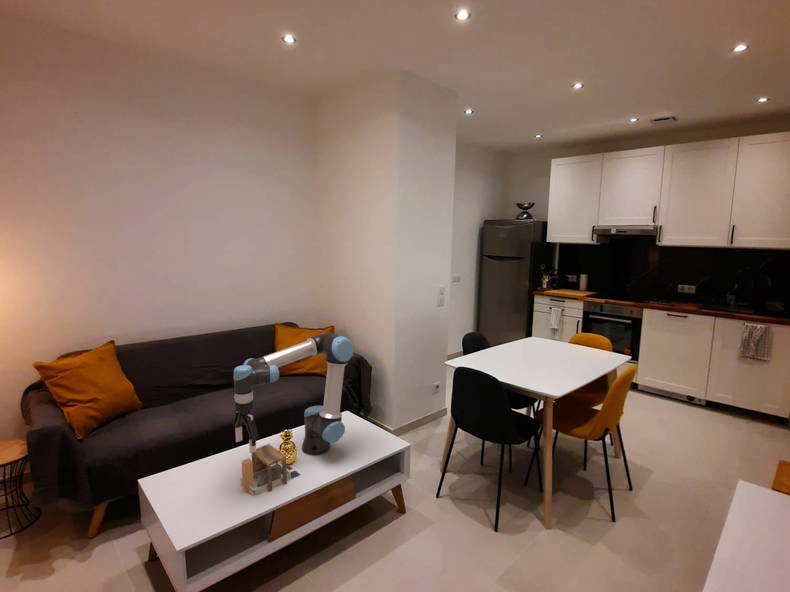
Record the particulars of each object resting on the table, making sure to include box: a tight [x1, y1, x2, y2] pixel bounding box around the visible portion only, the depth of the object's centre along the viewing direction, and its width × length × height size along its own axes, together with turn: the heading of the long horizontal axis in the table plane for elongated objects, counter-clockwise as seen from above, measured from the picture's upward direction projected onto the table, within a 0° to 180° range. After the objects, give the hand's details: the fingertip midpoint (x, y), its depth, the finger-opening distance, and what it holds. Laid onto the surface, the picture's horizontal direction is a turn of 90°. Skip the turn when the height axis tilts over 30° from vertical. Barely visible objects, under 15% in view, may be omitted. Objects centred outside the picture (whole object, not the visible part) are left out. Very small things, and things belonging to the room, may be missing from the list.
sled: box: [240, 458, 292, 497], centre depth 193 cm, size 20×12×14 cm, turn 135°
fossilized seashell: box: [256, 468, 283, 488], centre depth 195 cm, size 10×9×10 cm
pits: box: [287, 465, 301, 480], centre depth 203 cm, size 5×12×1 cm, turn 45°
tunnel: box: [251, 443, 288, 493], centre depth 194 cm, size 9×16×14 cm, turn 45°
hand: (245, 446), depth 185 cm, fingers open, 13 cm apart
